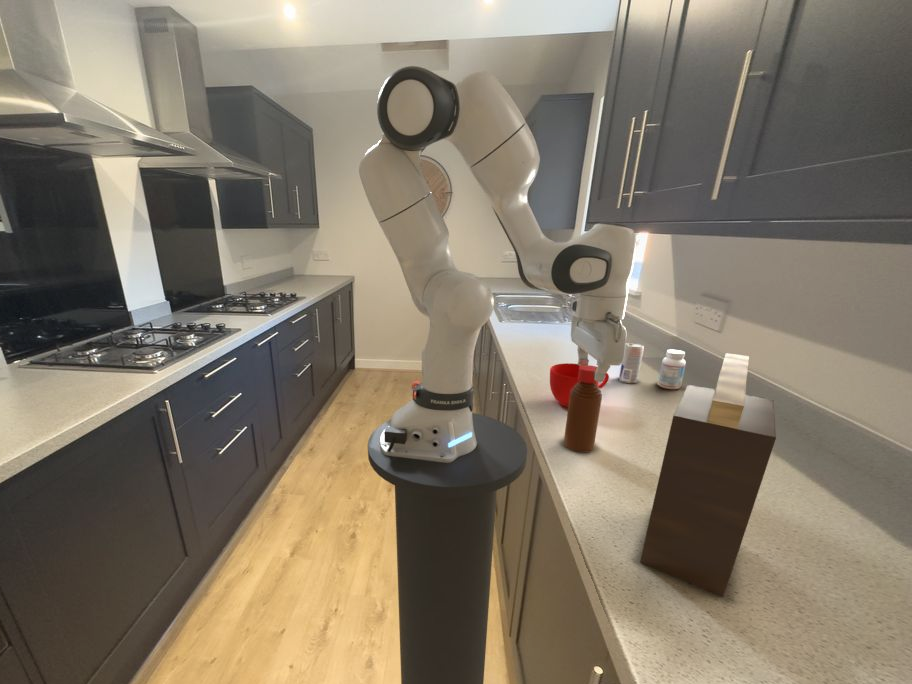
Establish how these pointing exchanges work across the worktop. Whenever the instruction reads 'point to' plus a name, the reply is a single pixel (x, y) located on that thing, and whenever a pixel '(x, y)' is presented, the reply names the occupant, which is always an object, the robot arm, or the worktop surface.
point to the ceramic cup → (566, 381)
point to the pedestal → (707, 489)
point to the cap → (586, 374)
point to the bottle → (582, 417)
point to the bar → (730, 392)
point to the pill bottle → (672, 370)
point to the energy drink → (631, 363)
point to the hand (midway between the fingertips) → (589, 373)
